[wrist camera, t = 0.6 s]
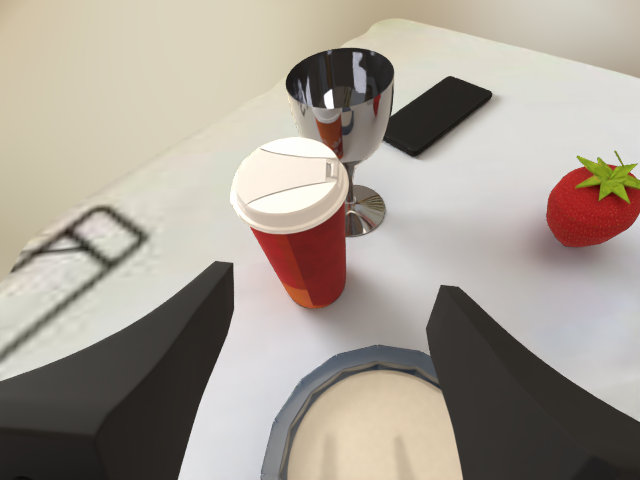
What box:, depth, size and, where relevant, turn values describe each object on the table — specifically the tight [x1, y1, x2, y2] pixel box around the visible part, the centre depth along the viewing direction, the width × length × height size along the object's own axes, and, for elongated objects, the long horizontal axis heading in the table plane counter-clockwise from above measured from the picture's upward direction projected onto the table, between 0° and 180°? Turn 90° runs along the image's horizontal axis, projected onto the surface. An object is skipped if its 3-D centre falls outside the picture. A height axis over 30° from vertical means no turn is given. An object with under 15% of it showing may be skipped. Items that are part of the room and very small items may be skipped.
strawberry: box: [546, 151, 640, 247], centre depth 29 cm, size 6×8×10 cm
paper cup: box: [230, 138, 349, 308], centre depth 28 cm, size 8×8×14 cm
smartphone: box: [383, 76, 492, 156], centre depth 45 cm, size 7×1×15 cm
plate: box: [261, 345, 463, 480], centre depth 23 cm, size 16×16×3 cm
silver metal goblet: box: [286, 48, 394, 237], centre depth 32 cm, size 8×8×15 cm
